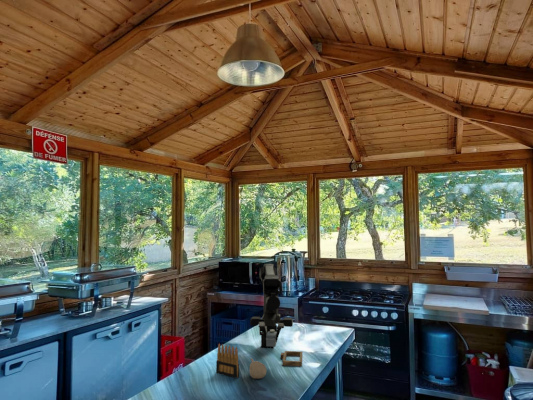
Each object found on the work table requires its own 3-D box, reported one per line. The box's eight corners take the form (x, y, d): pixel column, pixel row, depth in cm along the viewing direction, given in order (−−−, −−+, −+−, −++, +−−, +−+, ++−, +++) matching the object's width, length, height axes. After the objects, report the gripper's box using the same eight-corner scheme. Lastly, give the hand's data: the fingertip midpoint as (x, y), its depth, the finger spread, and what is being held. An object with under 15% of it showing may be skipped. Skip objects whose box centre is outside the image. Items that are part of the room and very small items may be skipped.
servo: (265, 347, 160) (265, 333, 160) (268, 340, 169) (268, 328, 170) (275, 347, 159) (275, 334, 160) (277, 341, 169) (277, 328, 169)
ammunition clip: (239, 376, 151) (239, 346, 152) (236, 378, 149) (236, 347, 150) (218, 371, 156) (218, 342, 158) (215, 373, 155) (216, 343, 156)
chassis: (279, 365, 164) (279, 361, 164) (281, 354, 178) (281, 350, 179) (301, 366, 163) (301, 361, 163) (302, 355, 177) (302, 351, 177)
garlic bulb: (255, 374, 154) (255, 354, 155) (268, 377, 151) (268, 356, 151) (246, 379, 148) (246, 358, 149) (260, 382, 145) (260, 361, 146)
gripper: (248, 308, 159) (247, 346, 158) (291, 309, 157) (291, 347, 156) (252, 303, 170) (252, 338, 169) (292, 304, 168) (293, 340, 167)
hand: (271, 341), depth 165 cm, fingers closed on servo, 4 cm apart
